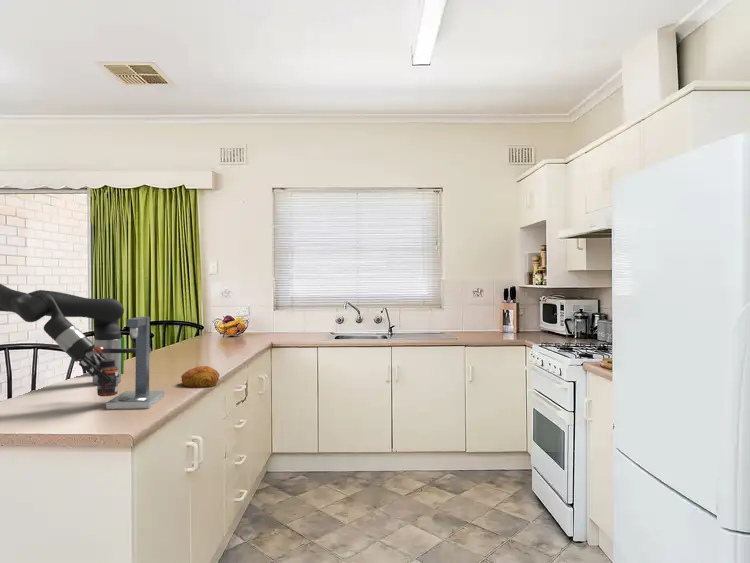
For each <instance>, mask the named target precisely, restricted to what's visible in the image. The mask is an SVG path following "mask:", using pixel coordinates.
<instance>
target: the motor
mask: <svg viewBox="0 0 750 563" xmlns="http://www.w3.org/2000/svg"><path fill="white" fill-rule="evenodd" d="M121 349H125V337H122V336H121ZM124 359H125V353H121V375H122V374H124V372H125V371H124V368H125V367H124V366H125V362H124V361H125V360H124Z"/></svg>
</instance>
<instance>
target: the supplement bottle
mask: <svg viewBox="0 0 750 563" xmlns="http://www.w3.org/2000/svg"><path fill="white" fill-rule="evenodd" d="M101 368H102V370H103V372H105V373H106V374H107V375H109V376H110V377H111V378H112V381H111V382H110V383H108V384H105V383H104V382H103V381H102V380H101V379H100V378H99V377H97V384H96V386H97V390H96V393H97V396H99V397H111V396H116V395H117V394H118V388H119V387H118V385H119V382H118V368H117V367H116V366H115V360H113V359H107V360H101Z"/></svg>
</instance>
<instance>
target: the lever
mask: <svg viewBox="0 0 750 563" xmlns="http://www.w3.org/2000/svg"><path fill="white" fill-rule="evenodd" d="M93 351H94V352H95V353H97V354H99V353H100V352H101V353H102V354H104V353H124V354H136V348H124V349H104V348H103V347H102V346H96V347H95V348H94V349H93ZM151 353H152V348H151V346H150V347H149V355H151Z"/></svg>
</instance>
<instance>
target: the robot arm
mask: <svg viewBox="0 0 750 563" xmlns="http://www.w3.org/2000/svg"><path fill="white" fill-rule="evenodd" d="M0 312H8V313H15V314H16V315H18V316H19V317H20V318H21V319H22V320H23V321H25V322H26V323H35V322H37V321H39V320H41V319H42V318H43V317H50V319H49V320H47V322H46V323H45V324H44V325H43V331H44V332H45V333H46V334H47V335H48V336H49V337H50V338H51V339H52V340H53V341H54V342H55V343H56V344H57V346H59V348H60V349H61V350H62V351H64V352H65V353H66V355H68V356H69V357H70V358H71V359H72V360H73V361H74V362H79V361H80V362H79V363H78V365H79V366H80V367H81V368H82V369H83V370H85V372H87V373H88V374H89V375H91V376H92V384H95V385H97V377H99V378H100V379H101V380H102V381H103V382H104V383H105V384H108V383H110V382H111V381H112V378H111V377H110V376H109V375H107V374H106V373H105V372H103V370H102V368H101V360H107V359H113V360H115V366H116V367H117V368H118V383H120V382H121V379H122V378H121V377H122V376H121V375H122V374H121V353H104V354H102V353H101V352H100V353H99V354H97V353H95V352H94V351H93V349H94V348H95V347H96V346H102V347H103V348H104V349H121V337H122V332H121V328H120V319H121V318H122V317H123V316H124V312H125V309H124V306H123V304H122V303H121V302H120V301H119V300H118V299H115V298H109V297H108V298H90V297H89V298H88V297H83V296H78V295H74V294H70V293H66V292H59V291H51V290H46V289H45V290H43V289H39V290H34V291H31V292H28V293H26V292H23V291H20V290H16V289H12V288H9V287H7V286H6V285H4V284H2V283H0ZM67 318H87V319H93V333H94V343H93V342H92V340H91V339H89V338H88V337H87V336H86V334H84V333H83V332H82V331H81V330H80V329H79V328H77V327H76V326H75V325H74V324H72V322H70V320H68V319H67Z"/></svg>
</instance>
